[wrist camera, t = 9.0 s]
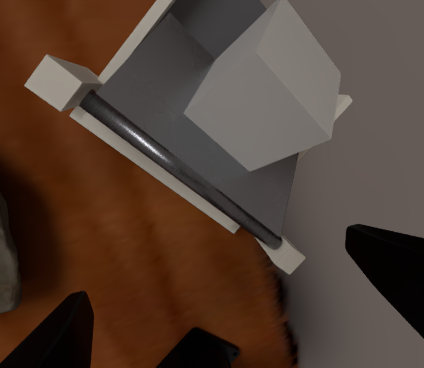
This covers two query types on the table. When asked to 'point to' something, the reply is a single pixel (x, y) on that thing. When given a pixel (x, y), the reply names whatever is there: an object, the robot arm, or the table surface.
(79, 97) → the frame
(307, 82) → the light grey cube
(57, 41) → the table surface
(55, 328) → the robot arm
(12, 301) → the marble piece
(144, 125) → the trapdoor
